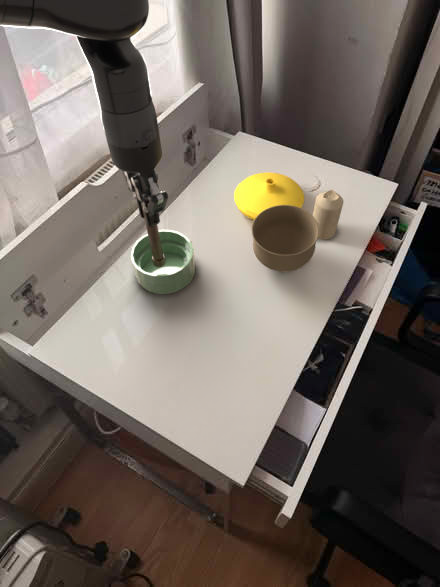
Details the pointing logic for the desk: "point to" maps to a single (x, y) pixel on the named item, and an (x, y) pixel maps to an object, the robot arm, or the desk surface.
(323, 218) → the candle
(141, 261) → the mixing bowl
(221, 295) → the desk surface
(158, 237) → the stirring stick
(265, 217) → the bowl
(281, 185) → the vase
